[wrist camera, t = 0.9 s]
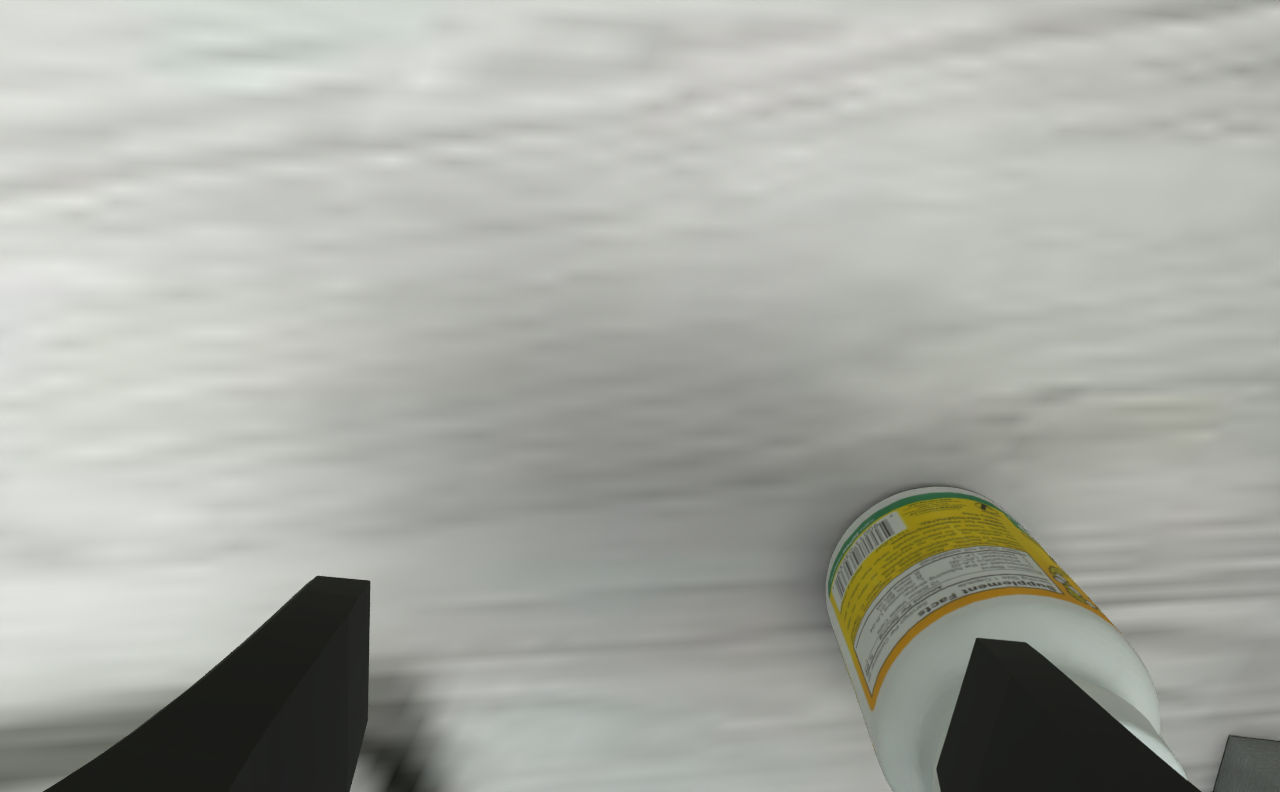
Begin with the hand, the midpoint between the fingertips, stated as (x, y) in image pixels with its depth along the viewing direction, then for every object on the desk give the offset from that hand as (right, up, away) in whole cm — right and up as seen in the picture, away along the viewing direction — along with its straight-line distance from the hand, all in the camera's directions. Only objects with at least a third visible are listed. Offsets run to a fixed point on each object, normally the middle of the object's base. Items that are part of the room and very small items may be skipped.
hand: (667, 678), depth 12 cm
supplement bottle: (+7, -1, +14) cm, 16 cm away
